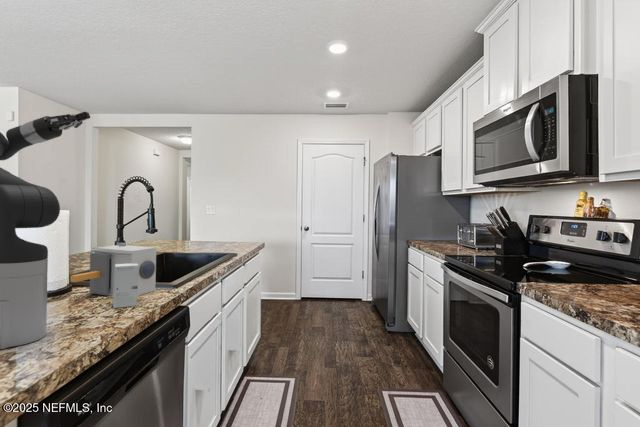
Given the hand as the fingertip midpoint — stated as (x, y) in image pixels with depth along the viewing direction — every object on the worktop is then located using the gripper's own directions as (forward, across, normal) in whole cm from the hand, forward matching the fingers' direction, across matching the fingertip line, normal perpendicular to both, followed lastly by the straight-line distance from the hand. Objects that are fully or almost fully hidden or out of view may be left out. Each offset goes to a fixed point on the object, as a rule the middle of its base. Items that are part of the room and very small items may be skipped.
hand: (88, 114), depth 115 cm
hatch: (-11, +25, -58) cm, 64 cm away
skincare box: (+3, +32, -63) cm, 71 cm away
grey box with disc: (-5, +17, -62) cm, 64 cm away
